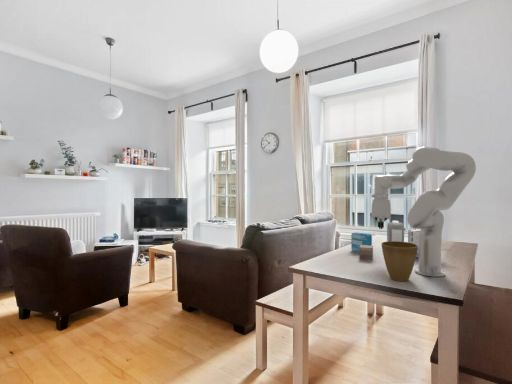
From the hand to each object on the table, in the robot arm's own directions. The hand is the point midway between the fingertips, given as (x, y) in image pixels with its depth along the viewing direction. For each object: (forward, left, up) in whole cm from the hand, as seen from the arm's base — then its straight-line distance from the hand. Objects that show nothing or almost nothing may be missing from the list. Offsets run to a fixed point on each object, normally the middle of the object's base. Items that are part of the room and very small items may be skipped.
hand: (380, 228), depth 172 cm
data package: (+18, +12, -18) cm, 28 cm away
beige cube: (0, +8, -18) cm, 20 cm away
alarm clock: (+26, -8, -18) cm, 33 cm away
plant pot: (-36, -8, -18) cm, 41 cm away
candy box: (+15, -22, -18) cm, 32 cm away
